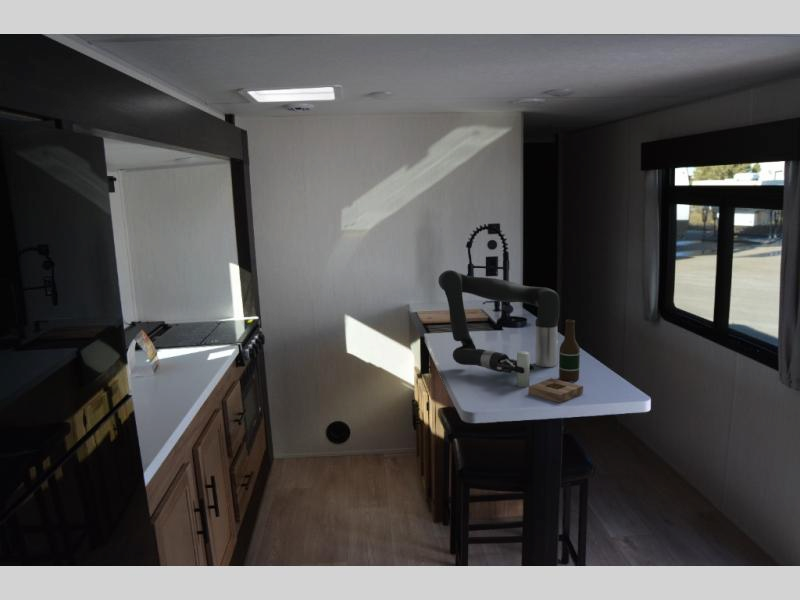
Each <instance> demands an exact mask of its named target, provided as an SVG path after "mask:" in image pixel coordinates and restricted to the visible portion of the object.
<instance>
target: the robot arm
mask: <svg viewBox="0 0 800 600" xmlns="http://www.w3.org/2000/svg"><path fill="white" fill-rule="evenodd" d="M438 285H439V287H440V288H441V289H442V290H443V291H444V294H445V296H446V300H447V303H448V310H449V322H450V328H451V334H452V338H453V340H454V341H455V342H460V343H461V346H459V347H456V348H455V349H454V350H453V351H452V359H453V360H454V361H455V363H457V364H460V365H463V366H478V367H481V368H485V369H487V370H491V371H494V372H499V373H507V374H511V373H517V372H518V373H522V374H523V373H524V368H523V367H519V366H517V359H515V358H510V357H509V356H508V355H507V354H506V353H503V352H498V351H494V350H486V349H483V348H477V347H476V344H475V343H474V340H473V338H472V337H471V335H470V330H469V326H468V320H467V315H466V310H465V306H464V299H463V297H464V296H463V293H464V294H470V295H474V296H477V297H480V298H483V299H486V300H491V301H494V302H496V301H497V302H502V303H523V304H527V305H532V306H534V307H537V316H536V319H535V323H534V324H535V325H534V327H535V328H534V330H535V334H534V336H535V337H534V338H535V341H534V343H535V344H534V364H532V363H530V371H535V366H537V367H542V368H551V367H552V368H553V367H556V366H557V365H559V342H558V325H559V323H558V322H559V321H560V320H559V319H560V307H561V305H560V304H561V303H560V302H561V300H560V296H559V294H558V293H557V292H556V291H555V290H553V289H551V288H548V287H540V286H529V285H523V284H520V283H516V282H514V281H509V280H505V279H504V280H503V279H498V278H493V277H481V276H470V275H467V274H463V273H460V272H458V271H455V270H451V269H448V270H445V271H443V272H442V273H441V274H440V275H439V276H438Z"/></svg>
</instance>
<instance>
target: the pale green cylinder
mask: <svg viewBox="0 0 800 600" xmlns="http://www.w3.org/2000/svg"><path fill="white" fill-rule="evenodd" d="M530 355H531V352H528V351H525V350H521V351H517V352H516V360H517V366H519V367H523V368H524V373H523V374H522V373H518V372H516V386H517V387H519V388H529V386H530V371H531V370H530V364H531V362H530V361H531V358H530V357H531V356H530Z"/></svg>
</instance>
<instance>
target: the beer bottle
mask: <svg viewBox="0 0 800 600" xmlns="http://www.w3.org/2000/svg"><path fill="white" fill-rule="evenodd" d="M564 322H565V332H564V340H563V341H562V342H561V344H560V347H559V350H558V378H559V380H560V381H562V380H563V381H565V382H568V381H573V382H577V381H578V380H579V379H580V359H581V358H580V354H581V351H580V345H579V343H578V341H576V334H575V333H576V332H575V324H576V320H574V319H566V320H565V321H564Z"/></svg>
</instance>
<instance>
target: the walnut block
mask: <svg viewBox="0 0 800 600" xmlns="http://www.w3.org/2000/svg"><path fill="white" fill-rule="evenodd" d="M582 393H583V394H584V386H583V385H580V384H576V383H573V382H568V381H562V380H561V379H556V378H551V377H550V378H547V379H545V380H542V381H540V382H537V383H535V384H530V385H529V386H528V395H530V394H531V396H534V395H535V397H537V396H538V397H539V398H541V397H542V398H541V399H545V400H547V401H548V400H549V401H552V402H557V403H560V404H561V403H564V402H566V401H569V400H572V399H573V398H576V397H578V395H579V396H581V395H583V394H582ZM580 394H581V395H580Z"/></svg>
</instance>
